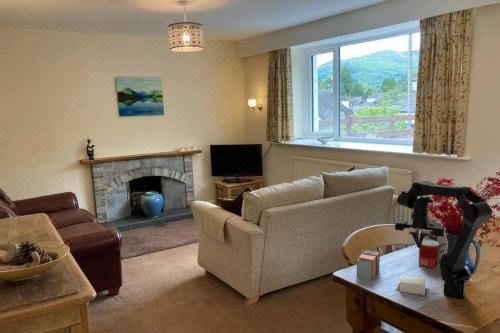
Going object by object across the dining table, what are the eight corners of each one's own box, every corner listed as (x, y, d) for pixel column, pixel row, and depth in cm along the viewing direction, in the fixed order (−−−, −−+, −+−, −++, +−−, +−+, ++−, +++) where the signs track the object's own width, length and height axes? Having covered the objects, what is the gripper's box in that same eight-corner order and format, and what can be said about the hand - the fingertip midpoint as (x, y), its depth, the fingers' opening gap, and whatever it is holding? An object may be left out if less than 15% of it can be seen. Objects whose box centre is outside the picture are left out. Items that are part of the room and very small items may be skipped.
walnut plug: (379, 271, 176) (379, 252, 175) (376, 275, 173) (377, 255, 171) (365, 269, 179) (365, 249, 178) (362, 272, 176) (363, 253, 174)
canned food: (439, 269, 177) (441, 245, 175) (420, 268, 178) (421, 245, 176) (435, 262, 184) (436, 239, 182) (417, 261, 186) (417, 238, 184)
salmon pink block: (375, 276, 172) (375, 256, 170) (372, 280, 169) (373, 259, 167) (361, 273, 175) (361, 253, 173) (358, 277, 172) (358, 257, 170)
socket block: (377, 270, 177) (378, 253, 176) (370, 280, 168) (371, 262, 167) (364, 268, 180) (364, 251, 179) (356, 277, 171) (356, 260, 170)
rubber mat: (429, 290, 159) (429, 288, 159) (425, 299, 152) (425, 297, 152) (399, 283, 165) (399, 282, 165) (395, 292, 158) (395, 290, 158)
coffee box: (448, 257, 189) (449, 224, 186) (436, 259, 187) (438, 226, 184) (434, 250, 197) (436, 219, 194) (423, 252, 196) (424, 220, 193)
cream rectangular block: (424, 288, 160) (425, 278, 159) (424, 295, 154) (425, 285, 153) (400, 284, 163) (400, 275, 162) (399, 291, 157) (400, 281, 157)
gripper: (448, 209, 167) (445, 245, 170) (401, 204, 177) (399, 237, 180) (444, 216, 158) (442, 254, 161) (395, 210, 168) (393, 246, 171)
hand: (418, 247), depth 168 cm, fingers closed
